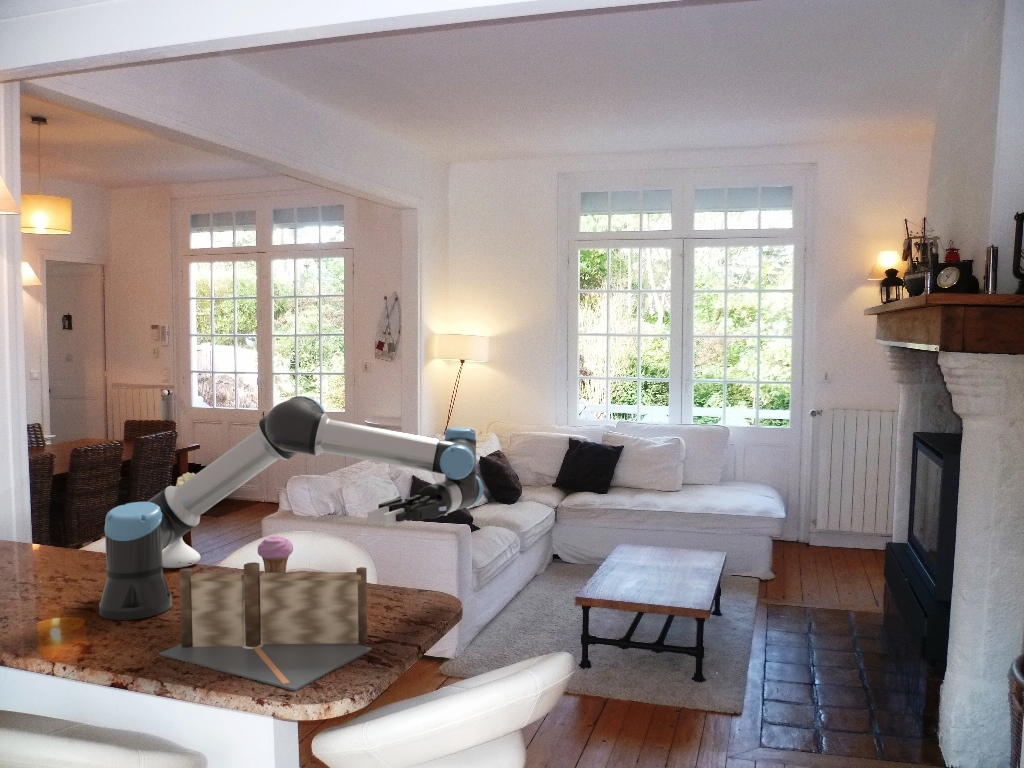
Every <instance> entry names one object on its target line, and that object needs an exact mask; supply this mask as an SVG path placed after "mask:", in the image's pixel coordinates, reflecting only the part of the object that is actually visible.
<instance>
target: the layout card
mask: <svg viewBox="0 0 1024 768" xmlns="http://www.w3.org/2000/svg"><path fill="white" fill-rule="evenodd" d="M372 650H373V648H372V647H369V646H365V645H362V644H361V645H360V644H358V643H324V644H261V645H259V646H256V647H247V646H246V644H244V645H243V646H213V647H193V646H192V647H188V648H184V647H182V643H180V644H178V645H176V646H175V645H174V646H173V647H171V648H168V649H166V650H163V651H161V652H159V653H158V655H159V656H162V657H165V658H170V659H174V660H176V659H177V660H178V661H180V660H181V662H184V661H185V662H184V663H188V662H189V663H188V664H191V663H192V664H191V665H195V664H197V665H196V666H199V665H200V667H203V666H204V667H203V668H206V667H208V668H207V669H210V668H211V670H214V671H218V672H222V673H226V674H230V675H233V676H236V675H237V677H240V676H241V678H245V679H248V680H251V679H252V680H251V681H255V680H257V681H256V682H259V681H260V682H259V683H264V684H267V685H270V686H274V687H279V688H282V689H286V690H290V691H293V692H296V691H299V690H300V689H302V688H304V687H306V686H307V685H310V684H311V683H313V682H315V681H317V680H319V679H320V677H321V678H322V676H323V677H324V676H326V675H328V674H330V673H332V672H334V671H335V669H336V670H337V669H340V668H341V667H342V666H345V665H347V664H348V663H351V662H353V661H354V660H356V659H358V658H359V657H362V656H364V655H365V654H367V653H369V652H371V651H372ZM333 670H334V671H333ZM331 671H332V672H331ZM329 672H330V673H329ZM327 673H328V674H327ZM325 674H326V675H325ZM316 679H317V680H316ZM314 680H315V681H314ZM309 683H310V684H309Z"/></svg>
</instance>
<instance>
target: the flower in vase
mask: <svg viewBox="0 0 1024 768" xmlns="http://www.w3.org/2000/svg"><path fill="white" fill-rule="evenodd" d="M194 475H196V473H194V472H191V473H190V472H188V471H187V472H186V473H183V474H182V475H181V476H179V477H177V480H176V484H175V487H179V486H180V485H182V484H183V483H185V482H186V481H187V480H189V479H190V478H192V477H193V476H194ZM199 561H201V555H200V553H199V552H198V551H197V550H195V549H194V548H192V547H191V546H190V545H188V544H186V542H185V541H184V540H183V536H182V537H181V538H180V539H179V540H177V541H176V542H174V543H172V544H170V545H169V546H167V547H166V548H164V549H163V550H162V562H163V563H162V565H163V568H165V569H177V568H179V569H181V568H187V567H189V566H190V567H191V566H192V565H194V564H197V563H198V562H199ZM179 562H180V563H179ZM188 563H192V564H188Z"/></svg>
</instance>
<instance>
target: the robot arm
mask: <svg viewBox="0 0 1024 768" xmlns="http://www.w3.org/2000/svg"><path fill="white" fill-rule="evenodd" d="M476 433H477V432H476V430H475V429H474V428H472V427H466V426H464V427H463V426H456V427H455V426H454V427H449V428H447V429H446V430H445V432H444V439H443V440H442V439H438V438H432V437H428V436H424V435H423V436H422V435H416V434H412V433H406V432H401V431H395V430H390V429H385V428H379V427H375V426H374V427H373V426H369V425H362V424H357V423H351V422H347V421H342V420H335V419H331V418H330V417H329V416H328V415H327V413H326V411H325V409H324V406H323V405H322V404H321V403H320V402H319V401H318V400H315V399H314V398H312V397H308V396H304V395H303V396H302V395H299V396H298V395H297V396H294V397H291V398H289V399H288V400H285V401H282V402H280V403H277V404H276V405H274V406H273V408H271V410H270V411H269V413H268V414H267V415H265V416H264V417H263V418H261V419H259V420H258V422H257V428H256V430H255V431H254V432H252V433H251V434H250V435H248V436H247V437H246V438H243V440H241V441H240V442H238V443H237V444H236V445H235V446H234V447H233V446H232V448H230V449H229V450H228V451H226V452H225V453H224V454H222V455H220V456H219V457H218V458H217V459H215V460H214V461H212V462H210V464H208V465H207V466H205V467H204V468H202V469H201V470H200V471H199V472H197V473H195V475H194V476H193V477H192V478H190V479H189V480H187V481H186V482H185V483H183V484H182V485H180V486H179V487H176V485H175V486H174V485H169V486H167V487H166V488H164V489H163V490H161V491H159V493H157V494H155V495H154V496H153V497H151V498H150V499H149V500H147V501H137V502H128V503H125V504H121V505H117V506H116V507H114V508H113V507H112V509H110V510H109V511H107V514H106V515H105V519H104V522H105V524H104V527H103V529H104V537H105V539H104V540H105V559H106V560H105V561H106V564H105V565H106V580H105V584H104V588H103V591H102V595H101V599H100V600H99V603H98V613H99V616H101V618H104V619H108V620H112V621H113V620H116V621H122V620H123V621H130V620H139V619H144V618H150V617H153V616H157V615H160V614H162V613H164V612H166V611H168V610H170V609H171V607H172V606H173V599H172V594H171V592H170V588H169V586H168V583H167V580H166V578H165V575H164V572H163V571H164V569H163V568H164V567H163V565H162V563H163V562H162V552H163V551H164V550H165V549H166V548H167V547H169V546H170V544H172V543H174V542H176V541H177V540H179V539H180V538H181V537H182V538H183V536H184V535H186V534H187V533H188V532H190V531H192V529H194V528H195V527H197V525H199V524H200V519H201V515H202V514H204V513H206V512H207V511H209V509H211V508H212V507H214V506H216V505H217V504H218V503H219V502H221V501H222V500H224V499H225V498H226V497H228V496H229V495H230V494H231V493H233V492H234V491H236V490H238V489H239V488H240V487H241V486H243V485H245V484H246V483H247V482H248V481H250V480H252V479H253V478H254V477H255V476H257V475H258V474H260V473H261V472H262V471H264V470H266V469H267V468H268V467H269V466H271V465H272V464H274V463H275V462H277V461H278V460H285V461H289V460H290V459H291V458H293V457H295V455H297V454H305V455H312V456H316V457H317V456H319V455H321V454H323V453H326V454H331V455H338V456H343V457H348V458H354V459H360V460H363V461H364V460H365V461H371V462H376V463H381V464H387V465H393V466H398V467H404V468H410V469H414V470H416V469H417V470H421V471H427V472H432V473H436V474H439V475H440V474H441V475H444V480H442V481H438V482H436V483H433V484H430V485H426V486H424V487H422V488H421V489H420V490H419V491H418V493H417V495H413V496H412V497H407V498H405V499H404V498H403V496H397V497H396V498H393V499H391V500H388V501H385V502H382V503H378V507H377V509H373V510H370V511H367V512H366V513H367V514H366V515H367V525H368V526H373V525H375V524H378V523H381V522H382V527H383V528H389V527H391V526H394V525H397V524H400V523H403V522H405V521H407V522H410V521H412V520H413V521H414V522H420V521H424V520H427V519H436V518H439V517H442V516H448V514H450V513H452V512H455V511H458V510H461V509H464V508H469V507H471V506H473V505H475V504H476V503H478V502H480V500H481V499H482V498H483V496H484V488H485V487H484V484H483V482H482V480H481V479H480V477H479V476H478V475H477V470H476V469H477V468H476V467H477V464H476V463H477V438H476V437H477V434H476Z"/></svg>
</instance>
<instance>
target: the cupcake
mask: <svg viewBox="0 0 1024 768" xmlns="http://www.w3.org/2000/svg"><path fill="white" fill-rule="evenodd" d="M293 552H294V545H293V543H292V541H291V540H290V539H288V538H287V537H285V536H280V535H273V536H268V537H266V538H264V539H263V540H262V541H261V542H260V543H259V544H258V546H257V554H258V556H260V557H261V558H262V561H263V569H264V573H287V563H288V559H289V557H290V555H291V554H292V553H293Z"/></svg>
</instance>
